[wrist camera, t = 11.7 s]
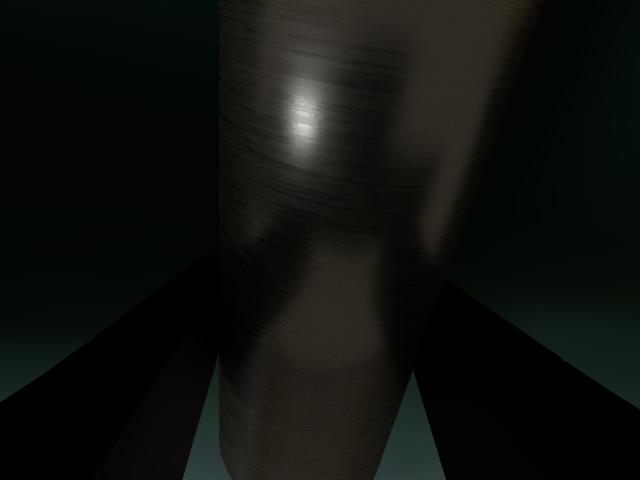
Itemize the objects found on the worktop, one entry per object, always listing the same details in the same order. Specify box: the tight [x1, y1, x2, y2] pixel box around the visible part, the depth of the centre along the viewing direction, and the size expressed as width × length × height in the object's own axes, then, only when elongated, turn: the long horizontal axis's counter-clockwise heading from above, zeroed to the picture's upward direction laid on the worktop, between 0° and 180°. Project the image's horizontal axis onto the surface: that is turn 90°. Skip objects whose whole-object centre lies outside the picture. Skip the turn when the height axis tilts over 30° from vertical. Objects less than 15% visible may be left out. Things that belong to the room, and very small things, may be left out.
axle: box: [219, 0, 544, 480], centre depth 6 cm, size 14×4×4 cm, turn 173°
